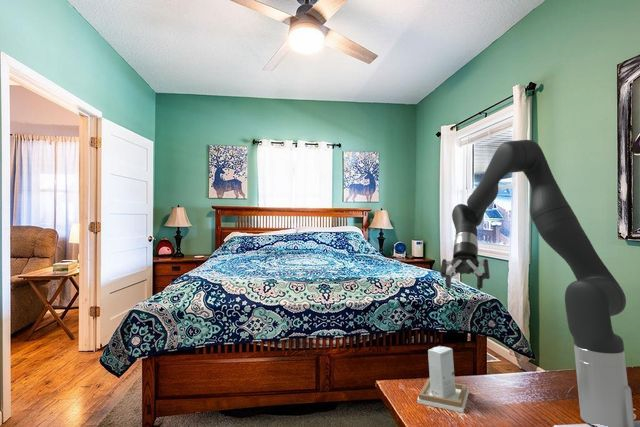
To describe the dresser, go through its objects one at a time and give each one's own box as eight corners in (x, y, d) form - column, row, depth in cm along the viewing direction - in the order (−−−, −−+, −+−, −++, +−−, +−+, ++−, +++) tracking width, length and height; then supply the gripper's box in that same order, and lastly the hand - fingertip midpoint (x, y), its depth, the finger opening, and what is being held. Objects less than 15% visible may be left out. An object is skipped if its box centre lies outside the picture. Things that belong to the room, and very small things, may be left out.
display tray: (468, 392, 95) (468, 384, 95) (463, 412, 85) (462, 403, 85) (427, 385, 101) (426, 377, 101) (417, 403, 91) (417, 394, 91)
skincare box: (443, 400, 90) (441, 353, 90) (429, 394, 93) (426, 349, 94) (456, 393, 93) (453, 348, 94) (442, 387, 97) (439, 344, 98)
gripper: (441, 241, 115) (437, 279, 104) (487, 240, 108) (488, 280, 97) (445, 255, 119) (441, 293, 108) (490, 255, 112) (490, 296, 101)
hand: (463, 287), depth 103 cm, fingers open, 8 cm apart
